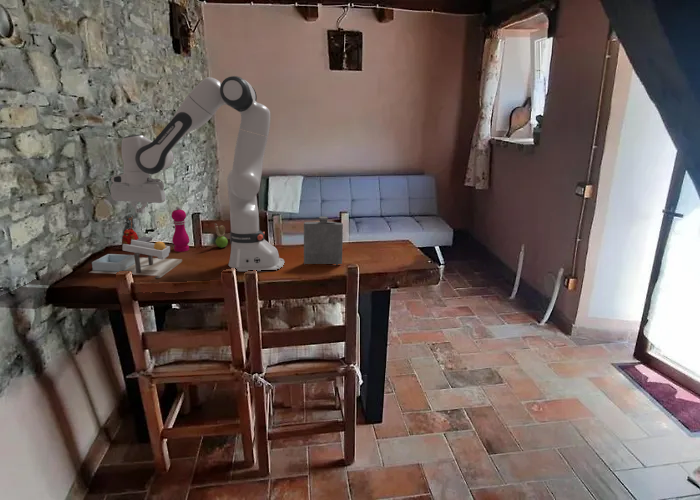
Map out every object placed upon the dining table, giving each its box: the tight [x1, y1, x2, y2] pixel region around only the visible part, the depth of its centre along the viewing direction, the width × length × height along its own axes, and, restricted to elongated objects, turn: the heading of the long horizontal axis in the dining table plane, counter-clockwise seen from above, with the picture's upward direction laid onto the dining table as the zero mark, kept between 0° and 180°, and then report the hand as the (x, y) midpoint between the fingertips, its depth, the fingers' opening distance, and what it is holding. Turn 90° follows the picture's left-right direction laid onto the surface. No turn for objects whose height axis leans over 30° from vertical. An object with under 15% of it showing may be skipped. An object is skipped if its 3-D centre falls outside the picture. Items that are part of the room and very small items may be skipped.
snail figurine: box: [214, 223, 229, 249], centre depth 203 cm, size 5×6×12 cm
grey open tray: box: [91, 253, 135, 272], centre depth 172 cm, size 11×11×4 cm
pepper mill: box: [171, 205, 190, 253], centre depth 197 cm, size 7×7×20 cm
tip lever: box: [122, 235, 171, 260], centre depth 174 cm, size 16×17×4 cm
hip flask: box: [303, 215, 344, 266], centre depth 184 cm, size 16×4×20 cm, turn 90°
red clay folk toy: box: [121, 215, 140, 248], centre depth 197 cm, size 8×7×15 cm
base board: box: [88, 253, 183, 279], centre depth 174 cm, size 27×20×8 cm
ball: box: [154, 241, 166, 250], centre depth 169 cm, size 4×4×4 cm
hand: (140, 212), depth 176 cm, fingers closed
